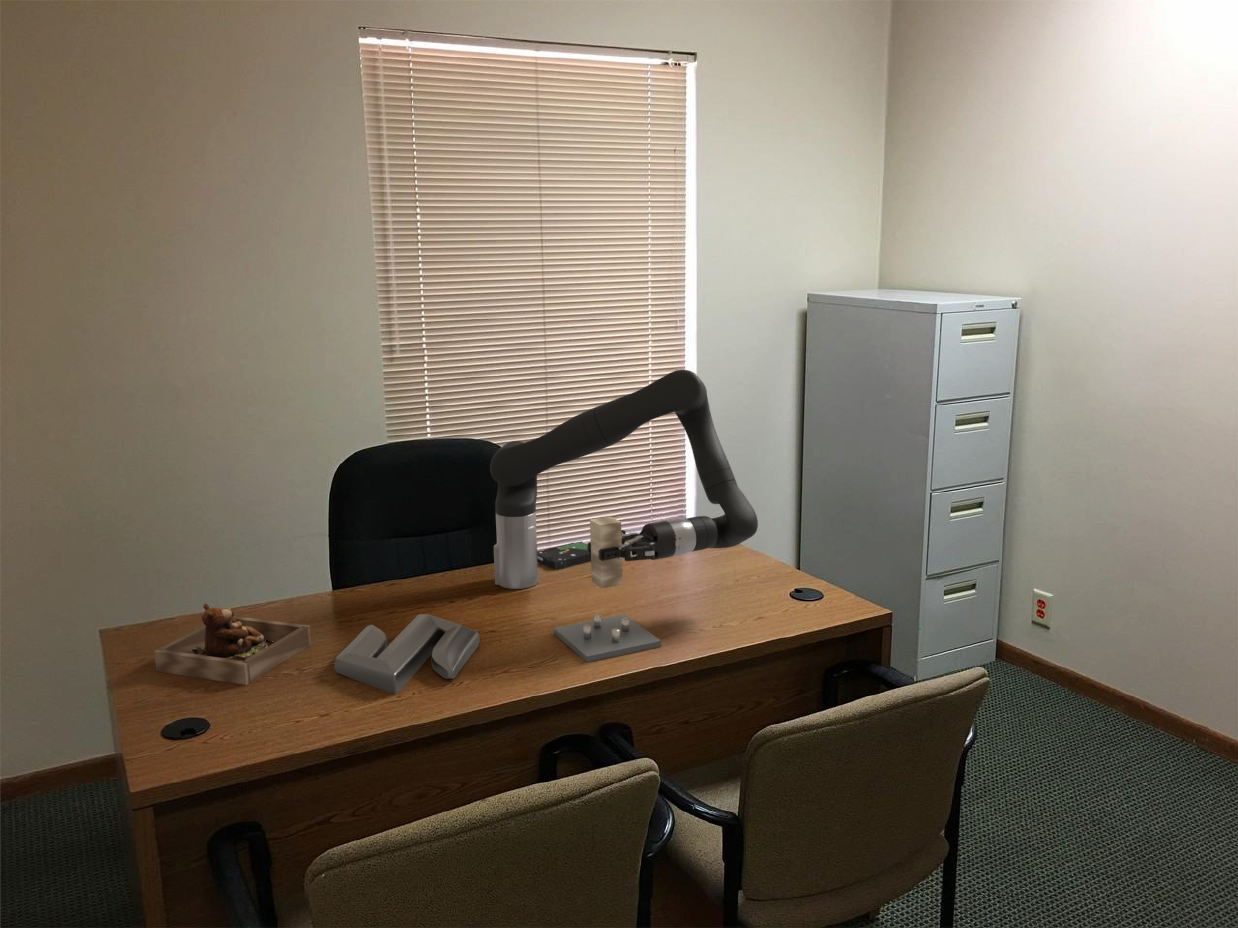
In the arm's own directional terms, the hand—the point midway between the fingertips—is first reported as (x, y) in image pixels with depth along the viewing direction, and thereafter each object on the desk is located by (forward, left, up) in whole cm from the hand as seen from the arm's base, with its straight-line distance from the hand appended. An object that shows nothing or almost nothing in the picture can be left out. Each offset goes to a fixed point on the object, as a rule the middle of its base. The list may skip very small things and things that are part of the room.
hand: (594, 551), depth 197 cm
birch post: (+2, +2, -7) cm, 7 cm away
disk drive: (-24, +45, -19) cm, 54 cm away
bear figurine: (-64, -30, -18) cm, 73 cm away
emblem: (-30, -21, -19) cm, 41 cm away
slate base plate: (+3, -1, -18) cm, 18 cm away
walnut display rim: (-63, -30, -18) cm, 72 cm away
